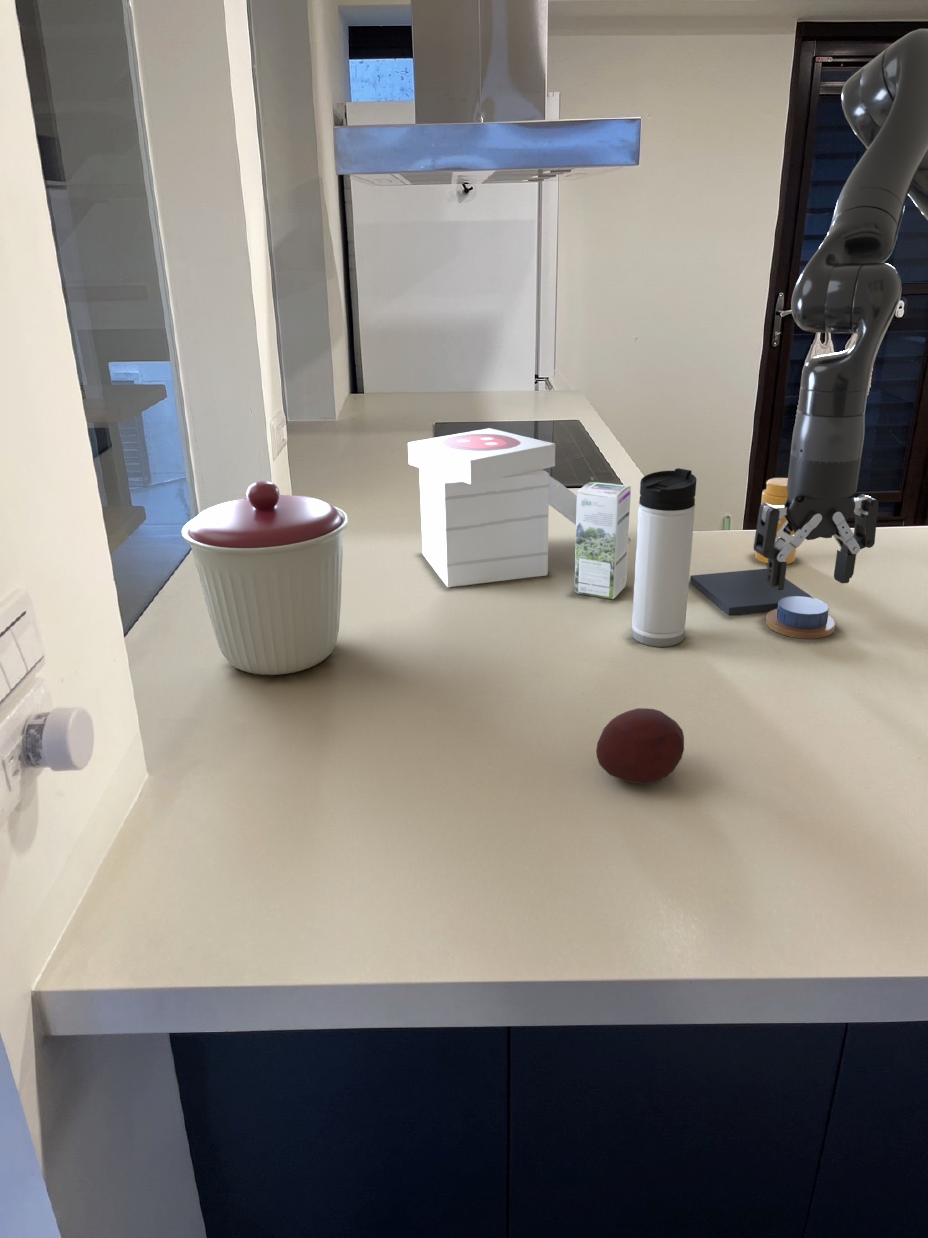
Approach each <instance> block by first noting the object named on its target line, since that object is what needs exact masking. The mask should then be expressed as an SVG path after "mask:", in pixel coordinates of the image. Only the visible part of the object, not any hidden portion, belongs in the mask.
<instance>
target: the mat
mask: <svg viewBox="0 0 928 1238" xmlns="http://www.w3.org/2000/svg"><path fill="white" fill-rule="evenodd" d="M766 576H767V568H758V569H756V568H755V569H746V570H736V571H735V570H734V571H726V572H725V571H724V572H715V573H705V574H692V575H689V584H691V585H692V586H694V587H695V588H696V589H697V590H698V591H700V592H701V593H702V594H703V595H705V596H706V597H707V598H708V599H709V600H710V601H711V602H713V603H714V604H715V605H717V607H718V608H719V609H721V610H722V611H723V612H724V613H725V614H727V615H728V616H731V615H742V614H753V613H760V612H761V613H763V612H770V611H772V610H774V609H777V608H778V602H779V600H781V599H783V598H786V597H791V596H803V597H810V598H814V599H816V598H815V597H813V596H812V595H810V594H809V593H808V592H806V591H804V589H802V588H800V587H799V586H798V585H796V584H794V583H793V582H791V581H790V580H789V579H787V578H786V577H785V583H784V589H783V590H775V589H774V588H772V587H771V586H770V584H769V583H768V582H767V579H766Z"/></svg>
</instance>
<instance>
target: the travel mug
mask: <svg viewBox="0 0 928 1238" xmlns="http://www.w3.org/2000/svg"><path fill="white" fill-rule="evenodd" d="M692 471H693V470H691V469H685V468H680V467H677V468H675V469H674V470H661V471H660V470H659V471H655V472H651V473H649V474H646V475H645V476H643V477H642V478H641V479H640V484H639V487H640V488H639V495H640V496H639V501H638V511H637V528H636V529H637V530H636V546H635V563H634V583H633V601H632V619H631V621H632V622H631V623H632V624H631V636H632V638H633V639H635V641H637V642H639V643H641V644H643V645H646V646H650V647H657V648H664V647H672V646H676V645H678V644H680V643H681V642H682V641H684V639H685V634H686V622H687V621H686V620H687V611H688V610H687V609H688V597H689V585H690V571H691V560H692V559H691V558H692V549H693V535H694V525H695V524H694V521H695V513H696V511H695V508H696V498H695V497H696V493H697V492H696V491H697V477H696V476H695V475H694V474H693V473H692Z"/></svg>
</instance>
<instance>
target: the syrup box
mask: <svg viewBox="0 0 928 1238" xmlns="http://www.w3.org/2000/svg"><path fill="white" fill-rule="evenodd" d="M631 491H632V486H631V485H625V484H617V483H609V482H608V483H607V482H597V481H589V482H587V483H586V484H584V485H583V486H582V487H581V488H580V489H578V490H577V491H576V496H577V512H576V525H575V551H574V552H575V553H574V555H575V556H574V557H575V560H574V593H575V594H578V595H584V596H589V597H590V596H591V597H596V598H602V599H607V600H608V599H609V600H614V599H615V598H616V597H617V596H619V594H620V593H621V592H622V591H623V590H624V589H625V588H626V586H627V569H628V567H627V566H628V565H627V564H628V547H629V544H628V537H629V529H630V528H629V527H630V515H631V514H630V513H631V512H630V511H631Z"/></svg>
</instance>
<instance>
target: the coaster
mask: <svg viewBox="0 0 928 1238" xmlns="http://www.w3.org/2000/svg"><path fill="white" fill-rule="evenodd" d="M777 609H778V608H777ZM777 609H774V610H772V611H768V612H767V614H766V617H765V624H766V626H767V627H768V628H769V629H770V630H772V631H773V632H775V633H777V634H780V635H783V636H787V637H791V638H795V639H806V640H809V639H810V640H812V639H822V638H825V637H828V636H831V635H832V634H833V633H834V632H835V630H836V629H835V628H836V621H835V619H834V618H833V617H832V616H830V614H828V619H827V624H826V625H824V626H822V627H820V628H814V629H803V628H795V627H791V626H788V625H785V624H783V623H781V622H780V621H779V620H778V619H777Z"/></svg>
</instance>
